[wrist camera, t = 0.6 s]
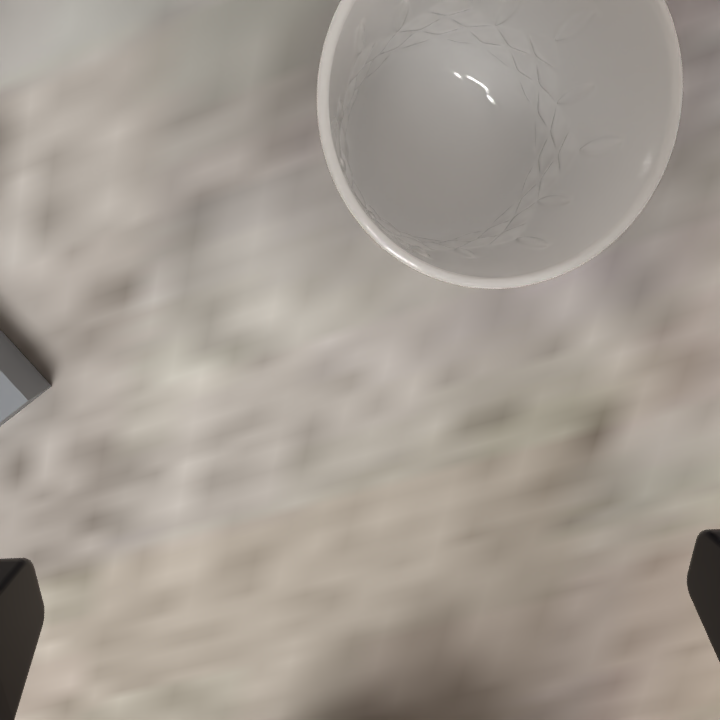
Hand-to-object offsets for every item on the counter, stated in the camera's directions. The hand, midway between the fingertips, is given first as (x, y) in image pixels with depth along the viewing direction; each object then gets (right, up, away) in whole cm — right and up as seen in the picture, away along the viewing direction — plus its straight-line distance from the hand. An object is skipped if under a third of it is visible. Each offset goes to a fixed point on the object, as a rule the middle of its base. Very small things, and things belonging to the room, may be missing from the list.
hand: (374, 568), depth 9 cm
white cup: (+2, +10, +15) cm, 18 cm away
